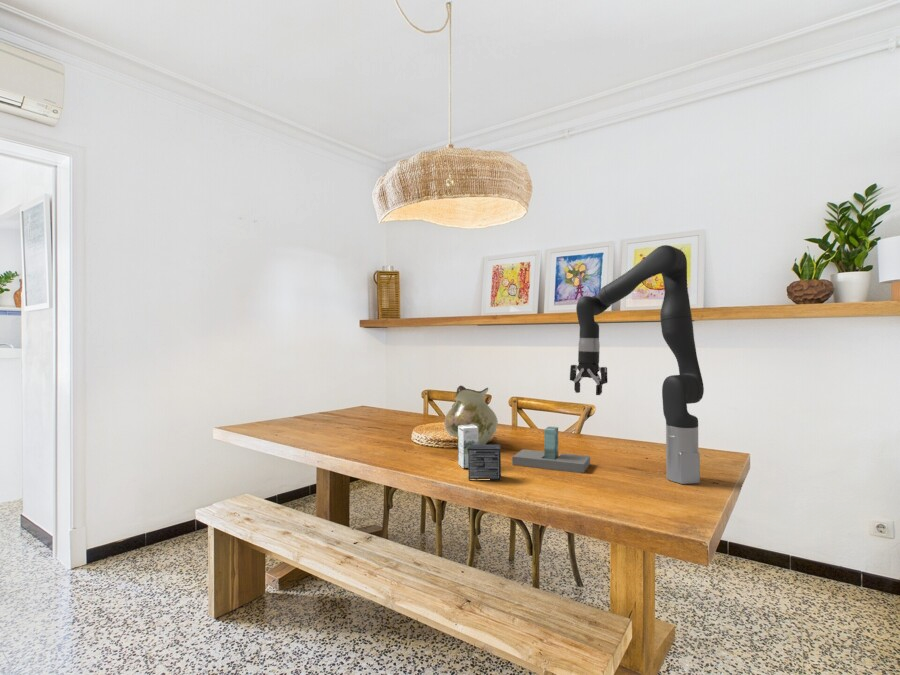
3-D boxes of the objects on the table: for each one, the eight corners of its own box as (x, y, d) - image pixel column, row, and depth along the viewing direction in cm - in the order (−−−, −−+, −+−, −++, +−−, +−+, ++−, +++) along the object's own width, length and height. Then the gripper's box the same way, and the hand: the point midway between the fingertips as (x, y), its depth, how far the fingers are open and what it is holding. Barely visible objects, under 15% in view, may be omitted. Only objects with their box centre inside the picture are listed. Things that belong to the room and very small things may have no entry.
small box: (501, 475, 158) (500, 443, 158) (501, 481, 152) (500, 448, 152) (469, 474, 159) (468, 443, 159) (468, 480, 153) (467, 448, 153)
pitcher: (482, 454, 186) (481, 390, 187) (432, 447, 199) (431, 387, 199) (506, 443, 206) (505, 385, 206) (459, 438, 218) (458, 383, 218)
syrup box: (472, 463, 173) (472, 423, 173) (478, 468, 167) (478, 426, 167) (457, 465, 171) (457, 424, 171) (463, 469, 165) (463, 427, 165)
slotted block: (583, 473, 160) (583, 464, 160) (512, 464, 171) (512, 456, 171) (590, 464, 170) (590, 456, 170) (522, 457, 181) (522, 449, 181)
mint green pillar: (554, 467, 168) (554, 430, 168) (544, 465, 169) (544, 429, 169) (558, 462, 173) (558, 427, 173) (548, 461, 174) (548, 426, 174)
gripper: (611, 351, 175) (610, 395, 175) (577, 349, 185) (576, 391, 185) (601, 351, 170) (600, 396, 170) (566, 349, 180) (565, 392, 180)
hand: (587, 393), depth 178 cm, fingers open, 8 cm apart
